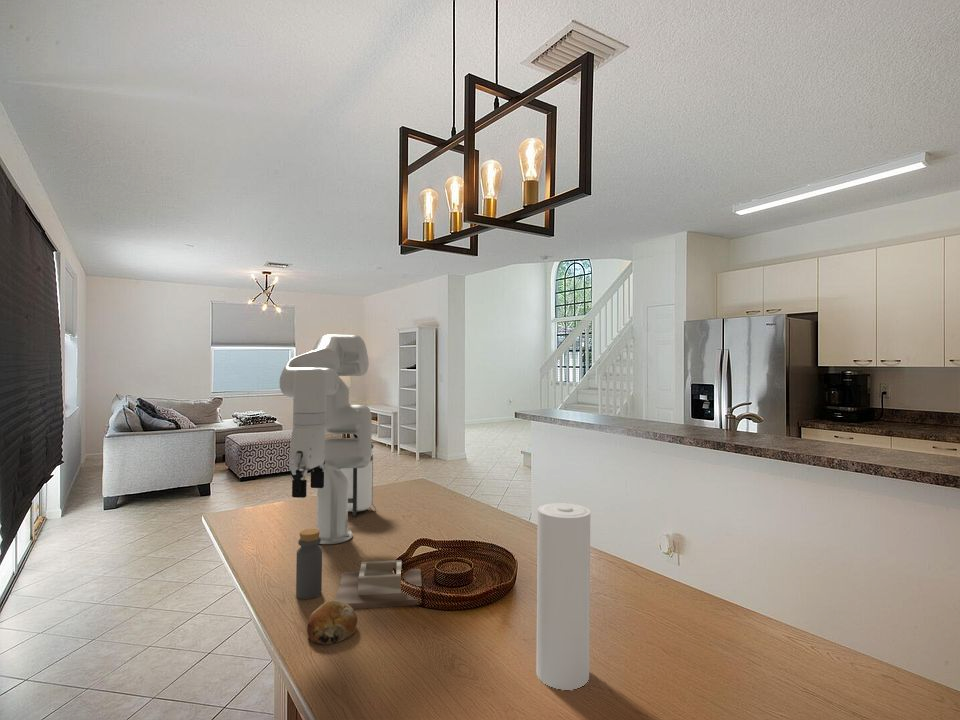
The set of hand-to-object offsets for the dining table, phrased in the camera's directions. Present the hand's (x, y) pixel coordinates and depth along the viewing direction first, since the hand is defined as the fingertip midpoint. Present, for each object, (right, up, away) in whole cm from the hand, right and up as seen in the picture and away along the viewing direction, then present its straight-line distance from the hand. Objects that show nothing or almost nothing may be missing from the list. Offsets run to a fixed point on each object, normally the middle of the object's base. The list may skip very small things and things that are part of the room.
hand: (308, 492), depth 121 cm
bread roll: (+10, -25, -16) cm, 31 cm away
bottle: (-1, -25, +2) cm, 25 cm away
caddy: (+16, -25, +4) cm, 30 cm away
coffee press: (-7, -26, +70) cm, 75 cm away
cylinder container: (+56, -25, -29) cm, 68 cm away
